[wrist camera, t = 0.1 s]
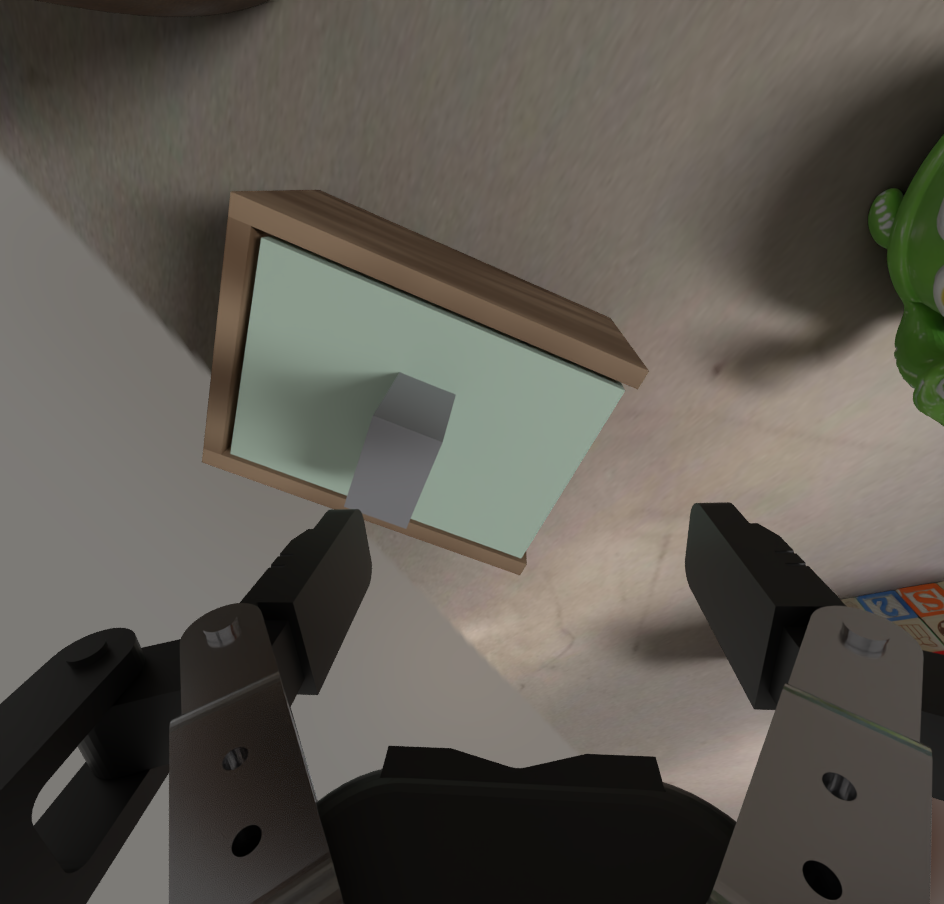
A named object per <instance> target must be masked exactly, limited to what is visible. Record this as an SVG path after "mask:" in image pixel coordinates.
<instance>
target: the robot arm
mask: <svg viewBox="0 0 944 904" xmlns="http://www.w3.org/2000/svg"><path fill="white" fill-rule="evenodd" d="M685 570H686V577H687V581H688V584H689V587H690V589H691V591H692V593H693V594H694V596H695V598H696V600H697V602H698V604H699V606H700V608H701V610H702V612H703V613H704V615H705V617H706V619H707V621H708V623H709V625H710V627H711V629H712V630H713V632H714V634H715V636H716V638H717V640H718V642H719V644H720V646H721V648H722V649H723V651H724V653H725V655H726V657H727V659H728V661H729V663H730V665H731V667H732V668H733V670H734V672H735V674H736V676H737V678H738V680H739V682H740V684H741V686H742V687H743V689H744V691H745V693H746V695H747V697H748V699H749V701H750V703H751V705H752V706H753V708H754V709H762V710H775V713H774V716H773V719H772V721H771V724H770V727H769V730H768V733H767V736H766V739H765V742H764V744H763V747H762V750H761V753H760V756H759V759H758V762H757V765H756V767H755V770H754V773H753V776H752V779H751V782H750V785H749V788H748V790H747V793H746V796H745V799H744V802H743V805H742V808H741V811H740V813H739V816H738V819H737V822H736V821H734V820H733V819H732V818H731V817H729V816H728V815H727V814H725V813H724V812H722V811H721V810H719V809H718V808H716V807H715V806H713V805H712V804H710V803H709V802H707V801H705V800H703V799H701V798H699V797H698V796H696V795H694V794H692V793H690V792H688V791H685V790H683V789H681V788H678V787H676V786H673V785H670V784H667V783H664V782H662V779H661V775H660V771H659V768H658V764H657V760H656V757H648V756H624V755H599V754H584V755H580V756H575V757H571V758H566V759H562V760H557V761H553V762H549V763H544V764H540V765H535V766H530V767H526V768H512V767H508V766H505V765H502V764H499V763H496V762H492V761H489V760H486V759H483V758H480V757H477V756H474V755H470V754H467V753H464V752H461V751H458V750H454V749H451V748H429V747H427V748H426V747H404V746H389V747H388V750H387V754H386V758H385V762H384V765H383V769H381V770H377V771H373V772H370V773H368V774H365V775H362V776H359V777H357V778H355V779H353V780H351V781H349V782H347V783H345V784H343V785H341V786H340V787H338V788H337V789H335V790H333V791H331V792H330V793H328V794H327V795H326V796H325V797H323V798H322V799H321V800H319V801H318V800H317V796H316V793H315V790H314V786H313V783H312V779H311V776H310V772H309V769H308V765H307V762H306V759H305V755H304V752H303V749H302V745H301V741H300V738H299V735H298V731H297V728H296V724H295V721H294V718H293V714H292V711H291V705H292V703H293V701H294V699H295V697H296V695H297V694H303V695H318V694H319V692H320V689H321V687H322V685H323V683H324V681H325V679H326V677H327V674H328V672H329V670H330V668H331V666H332V664H333V662H334V659H335V658H336V655H337V653H338V651H339V649H340V647H341V645H342V643H343V640H344V638H345V636H346V634H347V632H348V629H349V627H350V625H351V623H352V621H353V619H354V617H355V615H356V613H357V610H358V608H359V606H360V604H361V602H362V600H363V597H364V595H365V593H366V591H367V589H368V587H369V584H370V580H371V573H372V562H371V556H370V551H369V546H368V540H367V534H366V529H365V524H364V518H363V515H362V512H361V511H360V510H359V509H334V510H328V511H327V512H326V513H325V515H324V516H323V517H322V519H321V520H320V521H319V523H318V524H317V525H316V526H315V528H314V529H308V530H306V531H305V532H303V533H302V534H300V535H299V536H297V537H296V538H294V539H293V540H291V541H290V543H289V544H288V545H287V546H286V547H285V549H284V550H283V551H282V552H281V553H280V556H279V557H277V558H276V559H275V561H274V562H273V563H272V564H271V568H268V569H267V570H266V572H265V573H264V574H263V575H262V577H261V578H260V579H259V580H258V581H257V583H256V584H255V585H254V586H253V587H252V589H251V590H250V591H249V592H248V593H247V595H246V596H245V597H244V598H243V599H242V601H241V602H240V603H236V604H230V605H226V606H223V607H220V608H217V609H215V610H212V611H210V612H208V613H206V614H205V615H203V616H202V617H200V618H199V619H197V620H196V621H195V622H194V623H192V624H191V625H190V626H189V627H188V628H187V629H186V631H185V632H184V634H183V635H182V637H181V639H179V640H175V641H171V642H166V643H162V644H157V645H152V646H148V647H143V648H141V647H140V644H139V642H138V640H137V637H136V636H135V633H134V632H133V631H132V630H130V629H126V628H112V629H107V630H103V631H99V632H96V633H93V634H90V635H88V636H86V637H84V638H82V639H80V640H77V641H75V642H74V643H72V644H70V645H69V646H67V647H65V648H64V649H62V650H61V651H60V652H58V653H57V654H56V655H55V656H53V657H52V658H51V659H50V660H49V661H48V662H47V663H45V664H44V665H43V666H42V667H41V668H40V669H39V670H38V671H37V672H35V673H34V674H33V675H32V676H31V677H30V678H29V679H28V680H27V681H25V682H24V683H23V684H22V685H21V686H20V687H19V688H18V689H17V690H15V691H14V692H13V693H12V694H11V695H10V696H9V697H8V698H7V699H5V700H4V701H3V702H2V703H1V704H0V904H86V903H87V902H88V900H89V898H90V897H91V895H92V893H93V892H94V891H95V889H96V887H97V886H98V884H99V883H100V881H101V879H102V878H103V876H104V875H105V873H106V872H107V870H108V868H109V866H110V865H111V864H112V862H113V860H114V859H115V857H116V856H117V854H118V853H119V851H120V849H121V848H122V846H123V845H124V843H125V841H126V840H127V838H128V837H129V835H130V834H131V832H132V830H133V829H134V827H135V825H136V824H137V823H138V821H139V819H140V818H141V816H142V815H143V813H144V811H145V810H146V808H147V806H148V805H149V804H150V802H151V800H152V799H153V797H154V796H155V794H156V792H157V791H158V789H159V788H160V786H161V784H162V783H163V781H164V780H165V778H166V777H167V775H168V773H169V904H930V872H931V871H930V870H931V818H932V817H931V815H932V813H931V812H932V797H933V798H936V799H939V800H943V801H944V655H943V654H938V653H933V652H929V651H925V650H922V649H921V647H920V645H919V644H918V642H917V641H916V640H915V639H914V638H913V637H912V636H911V635H910V634H909V633H908V632H907V631H905V630H904V629H903V628H901V627H900V626H898V625H897V624H895V623H893V622H891V621H889V620H888V619H886V618H883V617H881V616H879V615H876V614H874V613H871V612H868V611H865V610H861V609H858V608H853V607H847V606H846V605H845V604H844V603H843V602H842V601H841V600H840V599H839V598H838V596H837V595H836V594H835V593H834V592H833V591H832V590H831V589H830V588H829V587H828V586H827V585H826V584H825V583H824V582H823V581H822V580H821V579H820V578H819V577H818V576H817V575H816V574H815V572H814V571H813V570H812V569H811V568H810V567H809V566H806V565H805V562H804V561H803V560H802V559H801V558H800V557H799V556H798V555H797V554H794V551H793V549H792V548H791V547H790V546H789V545H788V544H787V543H786V542H785V541H784V540H783V539H782V538H781V537H780V536H779V535H777V534H775V533H774V532H772V531H770V530H768V529H767V528H765V527H763V526H761V525H760V524H758V523H749V522H748V521H747V520H746V519H745V518H744V516H743V515H742V514H741V513H740V512H739V511H738V510H737V509H736V507H735V506H734V505H733V504H732V503H729V502H727V503H695V504H694V505H693V506H692V509H691V514H690V522H689V531H688V539H687V548H686V557H685ZM77 746H78V748H79V750H80V752H81V753H82V755H83V757H84V759H85V760H86V762H85V764H84V765H83V766H82V767H81V769H80V770H79V771H78V772H77V773H76V775H75V776H74V777H73V778H72V780H71V781H70V782H69V783H68V785H67V786H66V787H65V788H64V790H63V791H62V792H61V793H60V794H59V796H58V797H57V798H56V799H55V800H54V802H53V803H52V804H51V806H50V807H49V808H48V809H47V810H46V812H45V813H44V814H43V815H42V817H41V818H40V819H39V820H38V821H37V823H36V824H35V825H34V826H33V824H32V809H33V806H34V803H35V800H36V798H37V796H38V794H39V792H40V791H41V789H42V788H43V786H44V785H45V784H46V782H47V781H48V780H49V779H50V778H51V777H52V775H53V774H54V773H55V772H56V771H57V770H58V768H59V767H60V766H61V765H62V764H63V763H64V761H65V760H66V759H67V758H68V757H69V756H70V754H71V753H72V752H73V751H74V750H75V749H76V747H77Z"/></svg>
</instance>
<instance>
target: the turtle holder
mask: <svg viewBox="0 0 944 904" xmlns="http://www.w3.org/2000/svg"><path fill="white" fill-rule="evenodd" d="M868 227H869V230H870V233H871V235H872V237H873V239H874V240H875V241H876V243H877V244H879V245H880V246H882V247H884V248H886V249H887V265H888V270H889V274H890V277H891V280H892V283H893V286H894V288H895V290H896V292H897V294H898V295H899V297H900V299H901V300H902V302H903V304H904V314H903V317H902V320H901V322H900V325H899V327H898V330H897V334H896V337H895V348H896V350H895V352H894V356H895V358H896V365H897V367H898V369H899V372H900V373H901V375H902V377H903V379H904V380H905V381H906V382H908V384H909V385H910V386H911V387H913V388H915V390H914V392H913V402H914V404H915V406H916V407H917V409H918V410H919V411H920V412H922V413H924V414H925V415H927V416H929V417H931V418H932V419H934V420H936V421H937V422H939V423H940V424H941V425H942V426H944V134H943V136H942V137H941V138H940V139H939V141H938V142H937V143H936V145H935V146H934V147H933V149H932V150H931V151H930V153H929V154H928V156H927V157H926V158H925V160H924V161H923V163H922V164H921V166H920V168H919V169H918V171H917V173H916V175H915V176H914V178H913V180H912V181H911V183H910V185H909V187H908V189H907V191H906V193H905V195H904V196H903V193H902V192H901V191H900V190H899V189H896V188H893V189H888V190H886V191H884V192H882V193H881V194H879V195H878V196H877V197H876V198H875V200H874V202H873V204H872V206H871V208H870V212H869V215H868Z"/></svg>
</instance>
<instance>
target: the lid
mask: <svg viewBox="0 0 944 904" xmlns="http://www.w3.org/2000/svg"><path fill="white" fill-rule="evenodd" d="M624 392H625V389H624V388H623V386H622V384H621V382H619V381H617V380H615V379H612V378H610V377H607V376H605V375H603V374H600V373H598V372H596V371H593V370H591V369H588V368H586V367H584V366H581V365H579V364H577V363H574V362H572V361H570V360H567V359H565V358H562V357H560V356H558V355H555V354H553V353H551V352H548V351H546V350H544V349H541V348H539V347H536V346H534V345H532V344H529V343H527V342H525V341H522V340H520V339H517V338H515V337H513V336H510V335H508V334H506V333H503V332H501V331H499V330H496V329H494V328H491V327H489V326H487V325H484V324H482V323H480V322H477V321H475V320H473V319H470V318H468V317H465V316H463V315H461V314H458V313H456V312H454V311H451V310H449V309H446V308H444V307H442V306H439V305H437V304H435V303H432V302H430V301H428V300H425V299H423V298H420V297H418V296H416V295H413V294H411V293H409V292H406V291H404V290H401V289H399V288H397V287H394V286H392V285H390V284H387V283H385V282H383V281H380V280H378V279H375V278H373V277H371V276H368V275H366V274H364V273H361V272H359V271H357V270H354V269H352V268H349V267H347V266H345V265H342V264H340V263H338V262H335V261H333V260H330V259H328V258H326V257H323V256H321V255H319V254H316V253H314V252H312V251H309V250H307V249H304V248H302V247H300V246H297V245H295V244H293V243H290V242H288V241H286V240H283V239H281V238H278V237H276V236H274V235H272V236H267V237H262V238H261V242H260V249H259V256H258V263H257V270H256V277H255V284H254V291H253V298H252V305H251V312H250V319H249V326H248V333H247V340H246V347H245V354H244V361H243V368H242V375H241V382H240V389H239V396H238V403H237V410H236V417H235V424H234V431H233V438H232V445H231V452H230V454H232V455H235V456H238V457H241V458H244V459H246V460H249V461H252V462H255V463H257V464H260V465H263V466H266V467H269V468H271V469H274V470H277V471H280V472H282V473H285V474H288V475H291V476H294V477H296V478H299V479H302V480H305V481H307V482H310V483H313V484H316V485H318V486H321V487H324V488H327V489H330V490H332V491H335V492H338V493H341V494H343V495H346V496H347V498H346V502H345V505H344V507H346V508H349V509H359V510H360V511H361V512H362V513H363V514H366V515H368V516H371V517H374V518H377V519H380V520H382V521H385V522H388V523H391V524H394V525H396V526H399V527H402V528H405V529H406V528H407V526H408V523H409V521H410V519H413V520H416V521H418V522H421V523H424V524H427V525H429V526H432V527H435V528H438V529H441V530H443V531H446V532H449V533H452V534H454V535H457V536H460V537H463V538H466V539H468V540H471V541H474V542H477V543H479V544H482V545H485V546H488V547H491V548H493V549H496V550H499V551H502V552H504V553H507V554H510V555H513V556H516V557H518V558H522V557H523V555H524V553H525V552H526V550H527V548H528V547H529V545H530V544H531V542H532V540H533V539H534V537H535V536H536V534H537V532H538V531H539V529H540V527H541V526H542V524H543V523H544V521H545V519H546V518H547V516H548V515H549V513H550V511H551V510H552V508H553V506H554V505H555V503H556V502H557V500H558V498H559V497H560V495H561V494H562V492H563V490H564V489H565V487H566V485H567V484H568V482H569V481H570V479H571V477H572V476H573V474H574V473H575V471H576V469H577V468H578V466H579V464H580V463H581V461H582V460H583V458H584V456H585V455H586V453H587V452H588V450H589V448H590V447H591V445H592V443H593V442H594V440H595V439H596V437H597V435H598V434H599V432H600V431H601V429H602V427H603V426H604V424H605V422H606V421H607V419H608V418H609V416H610V414H611V413H612V411H613V410H614V408H615V406H616V405H617V403H618V401H619V400H620V398H621V397H622V395H623V393H624Z"/></svg>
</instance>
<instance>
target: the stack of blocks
mask: <svg viewBox="0 0 944 904" xmlns="http://www.w3.org/2000/svg"><path fill="white" fill-rule="evenodd" d="M841 601H842V602H843V603H844V604H845V605H846V606H847V607H853V608H858V609H861V610H865V611H868V612H871V613H874V614H876V615H879V616H881V617H883V618H886V619H888V620H889V621H891V622H893V623H895V624H897V625H898V626H900V627H901V628H903V629H904V630H905V631H907V632H908V633H909V634H910V635H911V636H912V637H913V638H914V639H915V640H916V641H917V642H918V644H919V645H920V647H921V649H922V650H925V651H929V652H933V653H938V654H943V655H944V581H942V582H938V583H930V584H924V585H918V586H912V587H906V588H900V589H896V590H895V591H886V592H880V593H875V594H869V595H863V596H858V597H854V598H847V599H841Z"/></svg>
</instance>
